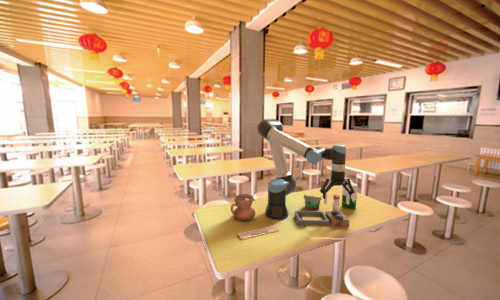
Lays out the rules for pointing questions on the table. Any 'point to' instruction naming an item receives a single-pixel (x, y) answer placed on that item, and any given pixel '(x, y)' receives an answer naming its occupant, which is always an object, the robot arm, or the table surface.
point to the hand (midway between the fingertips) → (336, 203)
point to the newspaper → (258, 231)
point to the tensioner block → (337, 219)
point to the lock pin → (335, 204)
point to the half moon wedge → (312, 202)
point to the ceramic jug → (243, 207)
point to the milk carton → (353, 197)
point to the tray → (310, 222)
